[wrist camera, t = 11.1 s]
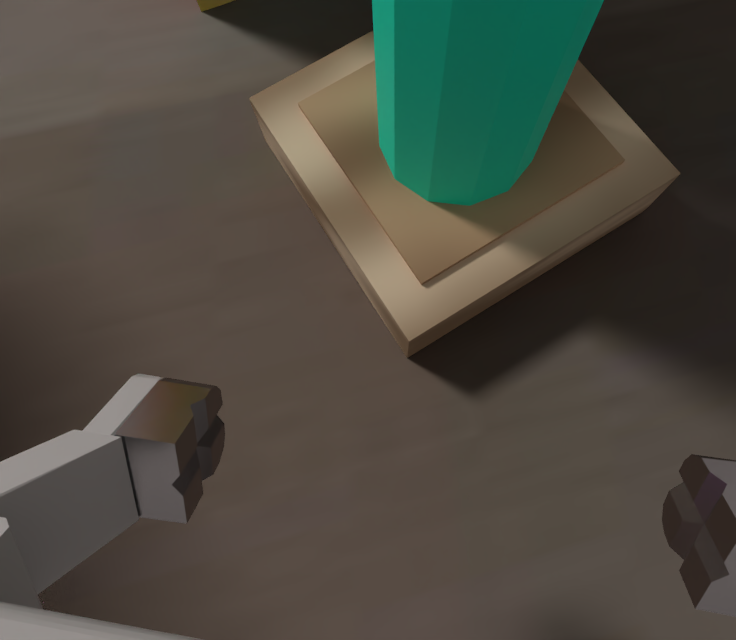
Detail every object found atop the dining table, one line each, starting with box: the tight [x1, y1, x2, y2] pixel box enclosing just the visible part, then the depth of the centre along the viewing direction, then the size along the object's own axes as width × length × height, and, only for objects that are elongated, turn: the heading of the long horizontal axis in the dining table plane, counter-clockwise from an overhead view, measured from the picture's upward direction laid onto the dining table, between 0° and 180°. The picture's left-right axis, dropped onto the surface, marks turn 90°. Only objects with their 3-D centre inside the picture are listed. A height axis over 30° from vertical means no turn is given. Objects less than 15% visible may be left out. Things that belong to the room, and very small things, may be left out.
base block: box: [249, 31, 680, 358], centre depth 22 cm, size 12×12×3 cm
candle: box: [372, 0, 604, 206], centre depth 15 cm, size 6×6×12 cm
